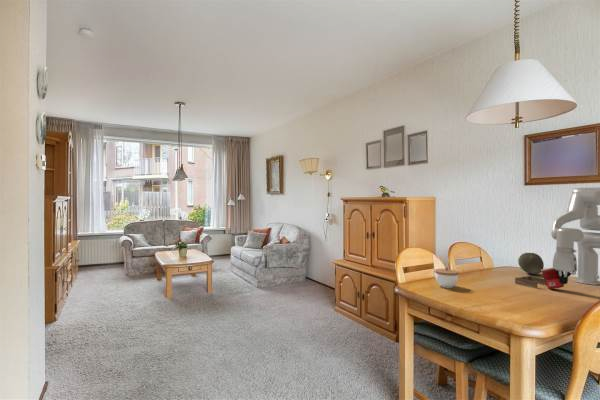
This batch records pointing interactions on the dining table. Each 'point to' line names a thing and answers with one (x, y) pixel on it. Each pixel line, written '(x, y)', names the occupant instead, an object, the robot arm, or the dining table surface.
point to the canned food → (551, 278)
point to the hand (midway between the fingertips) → (563, 283)
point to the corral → (530, 281)
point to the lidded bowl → (446, 277)
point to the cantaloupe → (531, 263)
